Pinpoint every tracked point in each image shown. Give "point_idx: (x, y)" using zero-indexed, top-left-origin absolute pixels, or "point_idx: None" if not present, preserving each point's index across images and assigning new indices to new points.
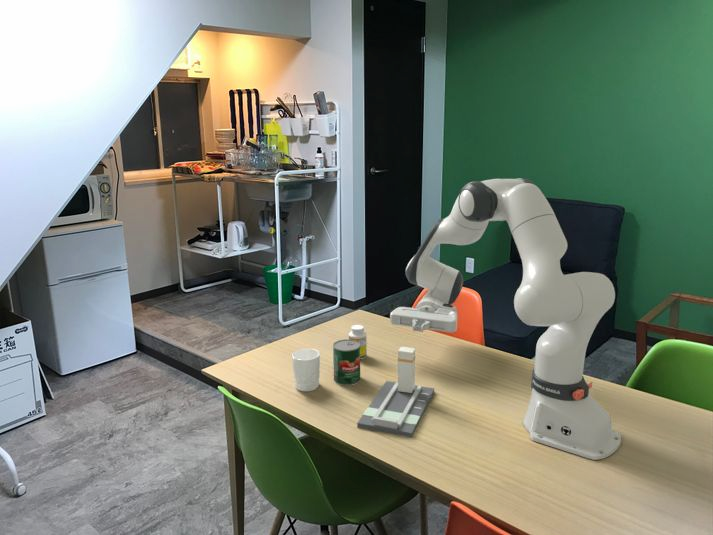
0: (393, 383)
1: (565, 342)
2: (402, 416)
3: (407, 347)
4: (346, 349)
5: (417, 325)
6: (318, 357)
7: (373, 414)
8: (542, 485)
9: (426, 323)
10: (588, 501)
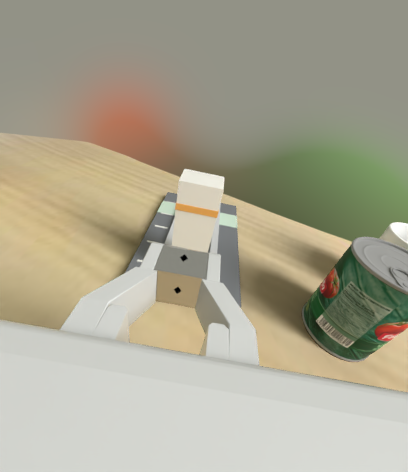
0: None
1: None
2: None
3: (203, 184)
4: (371, 244)
5: (190, 252)
6: (392, 236)
7: (223, 215)
8: (45, 154)
9: (113, 282)
10: (13, 144)
